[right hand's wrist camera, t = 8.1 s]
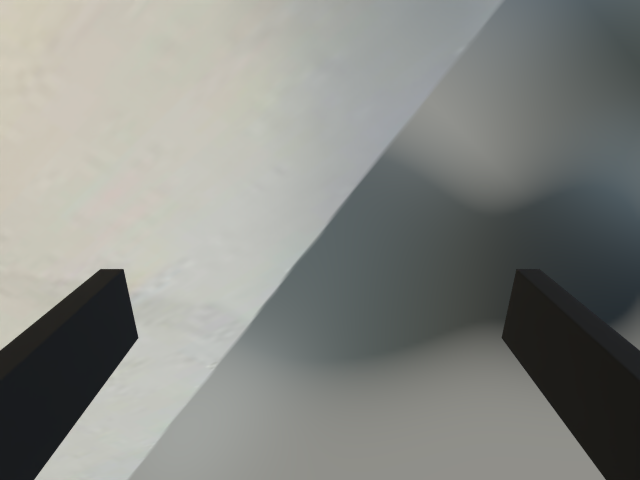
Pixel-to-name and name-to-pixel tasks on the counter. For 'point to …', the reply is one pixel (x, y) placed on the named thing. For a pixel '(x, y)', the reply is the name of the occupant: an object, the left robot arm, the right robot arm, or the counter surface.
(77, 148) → the counter surface
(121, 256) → the counter surface
